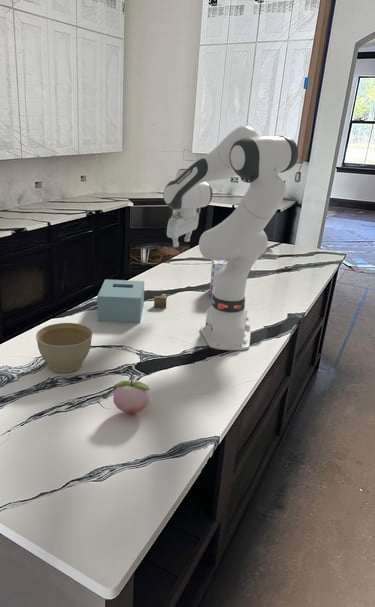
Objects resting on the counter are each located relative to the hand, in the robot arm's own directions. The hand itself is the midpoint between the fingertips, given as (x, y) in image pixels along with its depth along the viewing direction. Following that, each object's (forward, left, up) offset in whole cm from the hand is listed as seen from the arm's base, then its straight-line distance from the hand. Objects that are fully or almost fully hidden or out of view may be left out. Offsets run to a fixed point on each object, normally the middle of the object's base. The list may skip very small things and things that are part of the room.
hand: (181, 243), depth 184 cm
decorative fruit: (-81, +13, -26) cm, 86 cm away
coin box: (-13, +23, -26) cm, 37 cm away
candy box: (+13, -17, -26) cm, 34 cm away
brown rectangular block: (-6, +8, -26) cm, 28 cm away
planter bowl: (-58, +35, -26) cm, 72 cm away
